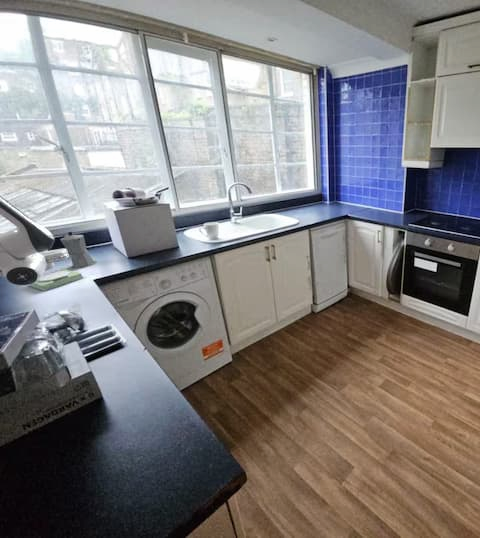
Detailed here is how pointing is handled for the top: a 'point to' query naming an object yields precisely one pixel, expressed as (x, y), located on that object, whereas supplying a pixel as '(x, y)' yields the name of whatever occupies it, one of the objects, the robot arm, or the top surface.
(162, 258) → the top surface
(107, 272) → the top surface
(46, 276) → the scale
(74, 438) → the top surface
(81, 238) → the coffeepot
